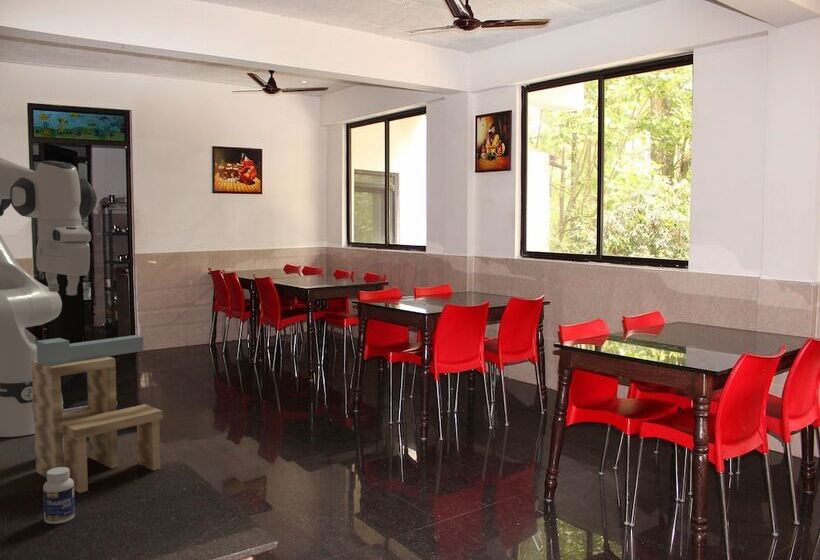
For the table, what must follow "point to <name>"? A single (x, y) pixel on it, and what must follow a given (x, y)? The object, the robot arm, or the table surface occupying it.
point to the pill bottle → (58, 496)
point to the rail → (85, 349)
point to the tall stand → (51, 415)
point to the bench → (108, 422)
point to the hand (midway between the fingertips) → (62, 293)
